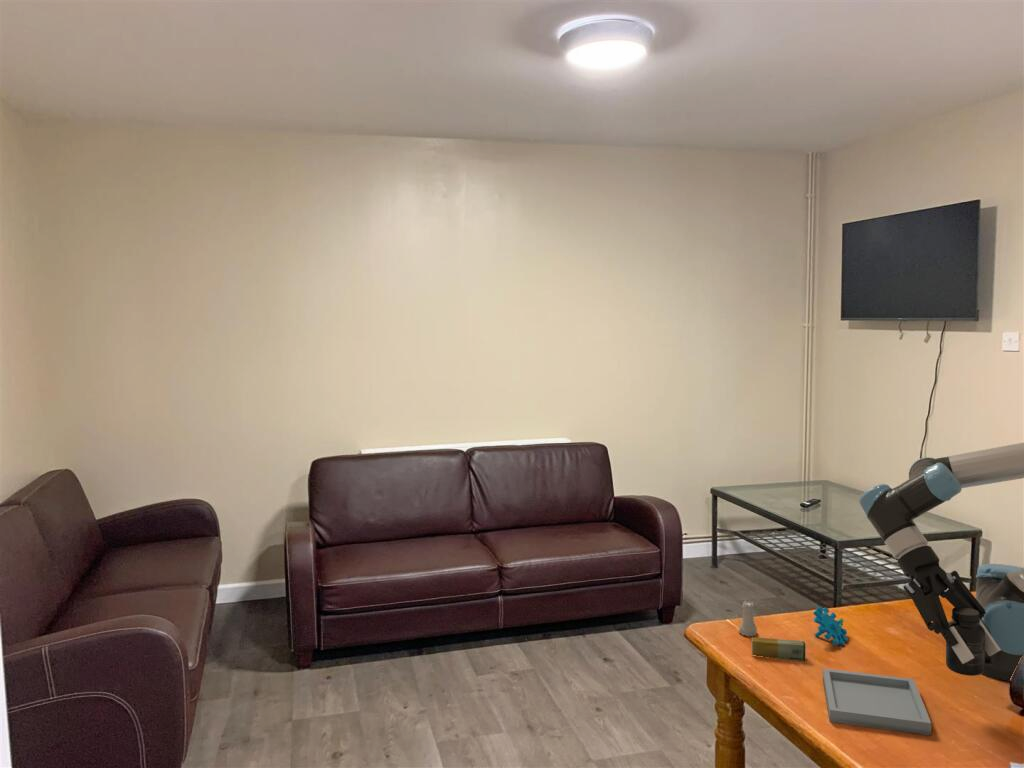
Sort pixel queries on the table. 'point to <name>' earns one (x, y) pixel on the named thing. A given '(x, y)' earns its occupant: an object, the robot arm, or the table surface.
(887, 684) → the tray
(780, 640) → the medication box
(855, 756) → the table surface
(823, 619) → the blue bumpy irregular piece
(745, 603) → the rook chess piece
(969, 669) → the supplement bottle
